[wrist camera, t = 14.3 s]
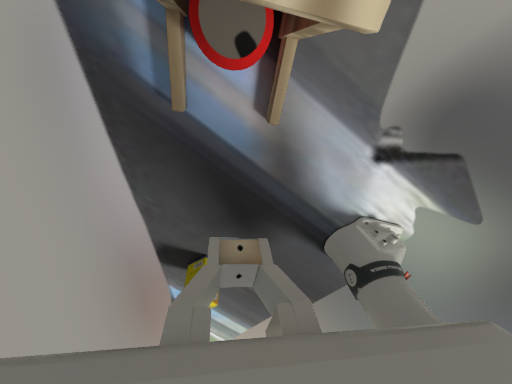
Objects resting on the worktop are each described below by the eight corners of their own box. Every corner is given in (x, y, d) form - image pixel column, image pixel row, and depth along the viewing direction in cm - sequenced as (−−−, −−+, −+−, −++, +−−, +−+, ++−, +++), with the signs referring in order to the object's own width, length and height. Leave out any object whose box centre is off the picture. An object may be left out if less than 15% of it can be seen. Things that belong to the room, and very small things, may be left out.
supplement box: (187, 263, 52) (180, 305, 43) (205, 254, 51) (201, 295, 42) (202, 273, 55) (197, 314, 46) (219, 264, 54) (218, 305, 45)
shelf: (317, -9, 25) (425, -86, 11) (285, 122, 34) (325, 164, 20) (148, -60, 21) (8, -272, 7) (162, 104, 30) (111, 142, 16)
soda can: (223, 77, 29) (222, 87, 19) (188, 19, 25) (165, -6, 15) (267, 45, 27) (291, 39, 18) (238, -23, 23) (247, -80, 14)
